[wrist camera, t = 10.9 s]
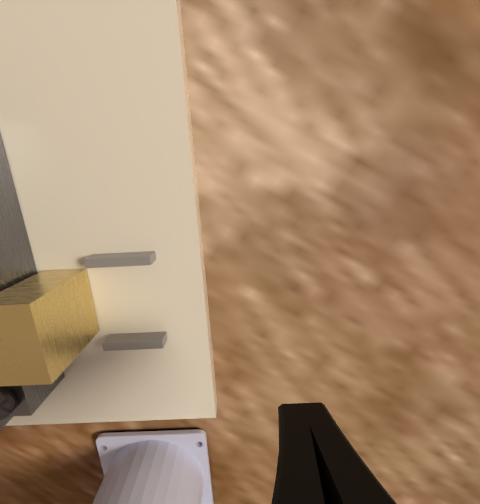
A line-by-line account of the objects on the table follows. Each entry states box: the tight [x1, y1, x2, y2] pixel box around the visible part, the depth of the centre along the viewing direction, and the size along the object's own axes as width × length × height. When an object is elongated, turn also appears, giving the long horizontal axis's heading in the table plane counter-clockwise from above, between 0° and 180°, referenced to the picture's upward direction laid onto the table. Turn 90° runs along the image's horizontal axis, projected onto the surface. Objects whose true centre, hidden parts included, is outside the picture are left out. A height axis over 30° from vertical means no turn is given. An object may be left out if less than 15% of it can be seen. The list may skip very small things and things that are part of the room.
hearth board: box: [0, 0, 217, 431], centre depth 15 cm, size 24×20×4 cm
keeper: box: [0, 268, 100, 386], centre depth 14 cm, size 4×2×4 cm, turn 3°
